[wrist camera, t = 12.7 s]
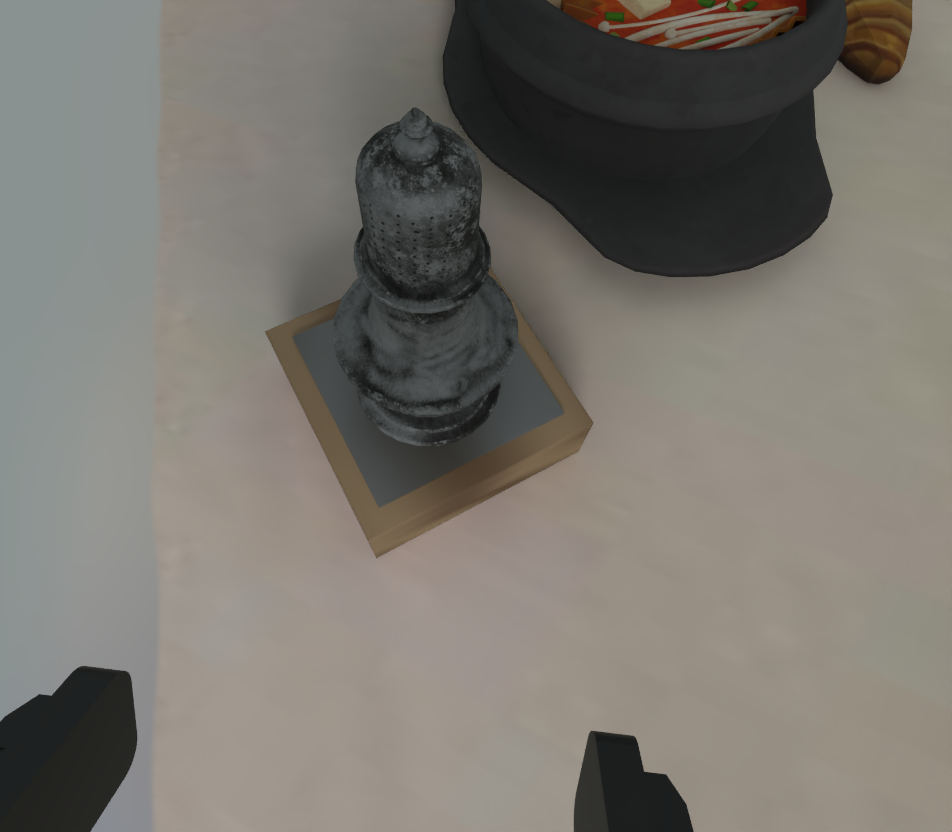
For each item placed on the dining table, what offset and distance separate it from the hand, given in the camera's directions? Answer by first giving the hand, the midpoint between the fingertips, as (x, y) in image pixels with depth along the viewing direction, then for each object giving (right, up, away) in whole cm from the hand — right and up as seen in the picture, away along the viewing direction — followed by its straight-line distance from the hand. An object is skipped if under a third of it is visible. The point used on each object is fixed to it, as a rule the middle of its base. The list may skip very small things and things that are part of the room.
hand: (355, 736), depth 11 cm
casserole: (+10, +22, +23) cm, 33 cm away
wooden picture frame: (0, +6, +16) cm, 17 cm away
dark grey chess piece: (0, +7, +13) cm, 15 cm away
